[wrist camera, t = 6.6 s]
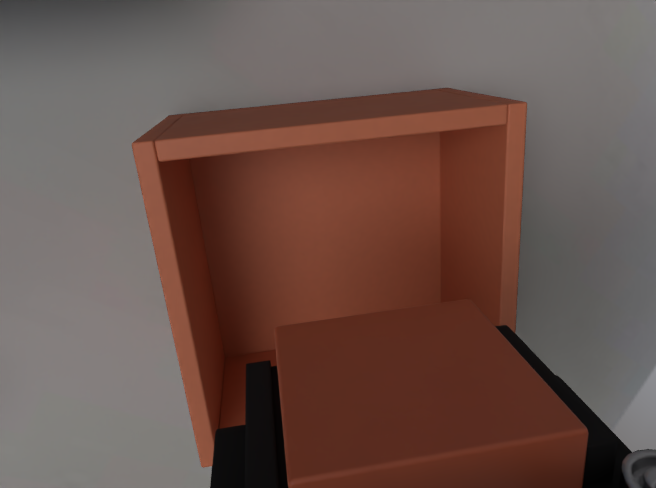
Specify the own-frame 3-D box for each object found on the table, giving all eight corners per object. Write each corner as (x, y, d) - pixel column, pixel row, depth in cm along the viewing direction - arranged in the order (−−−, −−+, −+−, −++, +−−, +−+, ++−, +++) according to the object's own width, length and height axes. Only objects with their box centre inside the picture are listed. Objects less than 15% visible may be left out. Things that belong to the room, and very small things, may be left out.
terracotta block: (470, 296, 12) (591, 429, 7) (468, 453, 13) (567, 633, 9) (273, 325, 11) (287, 482, 7) (295, 484, 13) (317, 688, 9)
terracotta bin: (448, 87, 21) (528, 101, 15) (448, 328, 25) (511, 417, 19) (168, 115, 20) (130, 142, 14) (214, 362, 24) (201, 468, 18)
